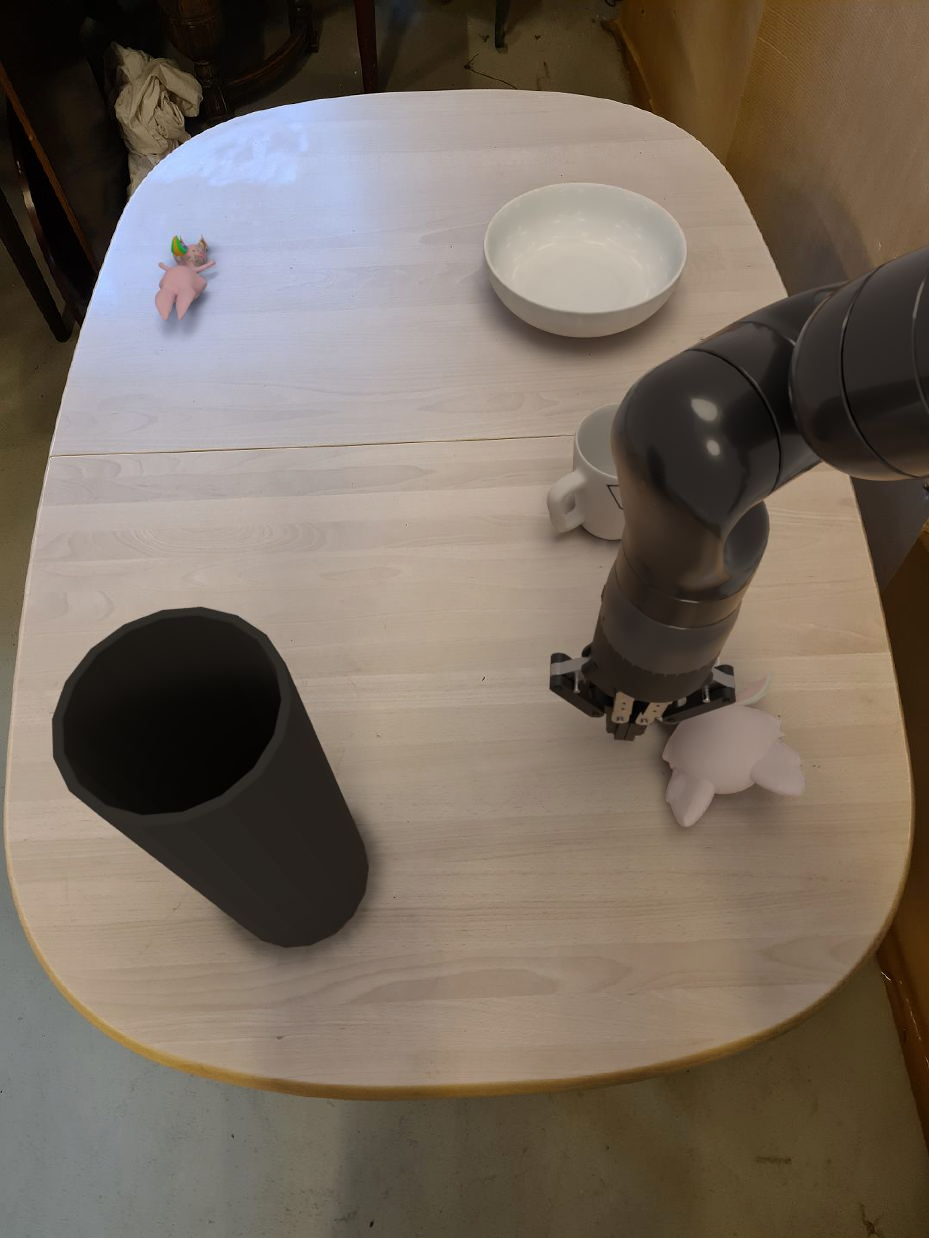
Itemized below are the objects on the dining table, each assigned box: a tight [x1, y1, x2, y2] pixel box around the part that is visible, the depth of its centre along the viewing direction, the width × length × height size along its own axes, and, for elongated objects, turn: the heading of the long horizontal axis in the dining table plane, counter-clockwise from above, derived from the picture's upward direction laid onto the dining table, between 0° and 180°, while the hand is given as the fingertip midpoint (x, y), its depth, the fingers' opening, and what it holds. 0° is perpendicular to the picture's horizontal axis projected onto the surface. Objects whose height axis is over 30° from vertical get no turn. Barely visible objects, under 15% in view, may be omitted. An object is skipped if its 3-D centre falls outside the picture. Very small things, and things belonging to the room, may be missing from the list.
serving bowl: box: [482, 181, 688, 338], centre depth 90 cm, size 21×21×7 cm
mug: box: [546, 401, 625, 541], centre depth 74 cm, size 11×8×10 cm
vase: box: [51, 606, 370, 948], centre depth 50 cm, size 10×10×30 cm
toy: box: [656, 653, 807, 828], centre depth 64 cm, size 12×8×15 cm
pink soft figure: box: [154, 234, 216, 322], centre depth 92 cm, size 6×6×15 cm
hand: (623, 728), depth 65 cm, fingers closed
